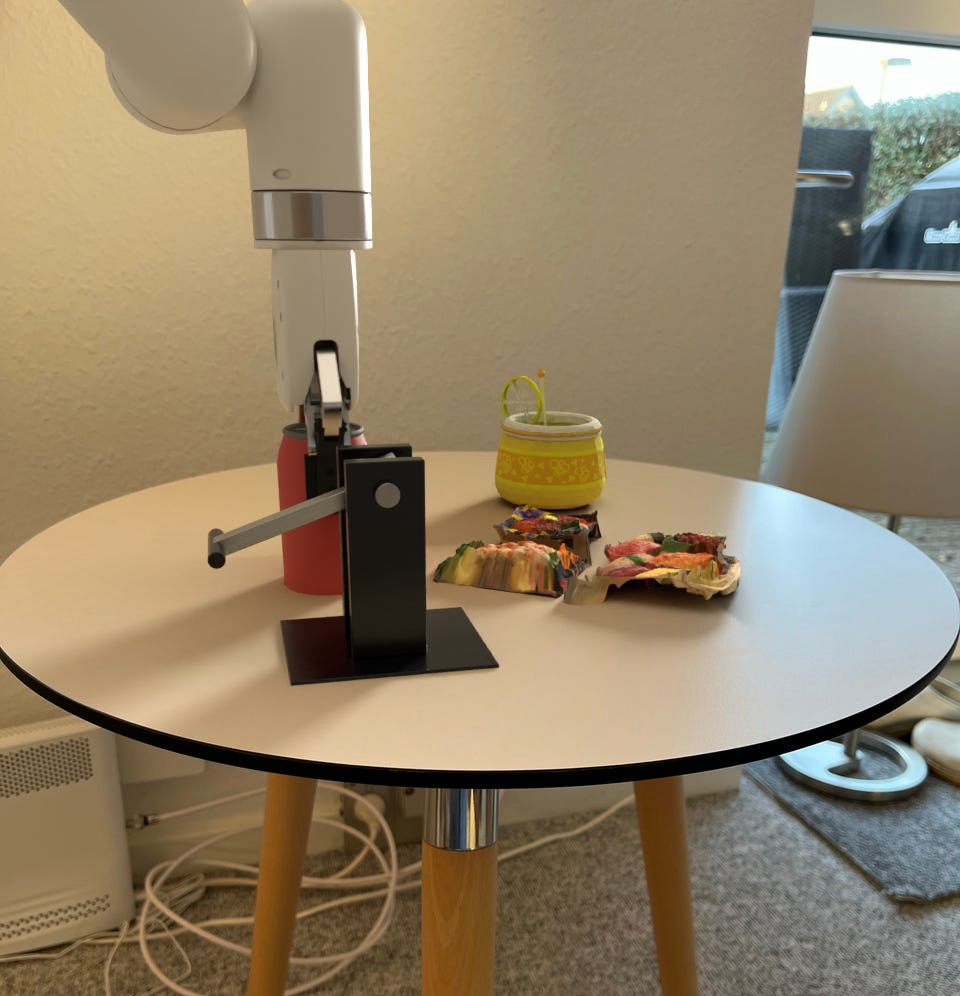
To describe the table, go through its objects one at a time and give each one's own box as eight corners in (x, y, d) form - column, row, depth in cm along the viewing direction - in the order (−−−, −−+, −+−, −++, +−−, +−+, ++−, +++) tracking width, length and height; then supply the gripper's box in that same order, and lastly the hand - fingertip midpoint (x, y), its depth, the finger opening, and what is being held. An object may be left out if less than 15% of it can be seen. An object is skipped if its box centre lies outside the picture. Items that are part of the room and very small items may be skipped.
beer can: (292, 578, 77) (283, 418, 73) (379, 579, 77) (375, 419, 73) (277, 608, 71) (265, 436, 66) (371, 609, 71) (366, 436, 66)
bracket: (291, 701, 57) (277, 476, 52) (281, 637, 66) (267, 439, 61) (499, 682, 60) (503, 466, 55) (461, 623, 69) (462, 432, 64)
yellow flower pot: (618, 513, 96) (627, 383, 91) (504, 516, 94) (507, 384, 90) (585, 482, 108) (591, 366, 103) (483, 485, 106) (484, 367, 102)
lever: (217, 583, 56) (198, 544, 55) (217, 557, 60) (200, 520, 59) (417, 503, 57) (402, 464, 56) (402, 483, 61) (388, 447, 60)
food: (756, 561, 82) (761, 519, 81) (722, 642, 66) (727, 590, 64) (500, 532, 89) (501, 492, 88) (412, 598, 73) (411, 550, 72)
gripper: (248, 224, 72) (266, 475, 78) (257, 223, 56) (278, 536, 63) (354, 226, 73) (363, 471, 80) (392, 225, 58) (398, 530, 64)
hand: (325, 497), depth 71 cm, fingers closed on beer can, 6 cm apart
